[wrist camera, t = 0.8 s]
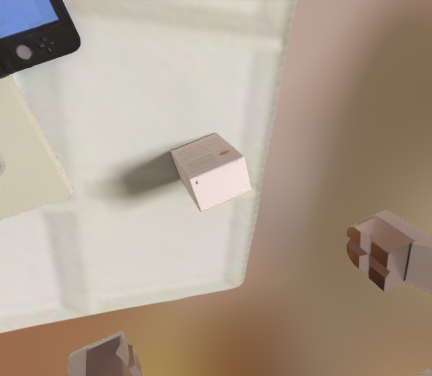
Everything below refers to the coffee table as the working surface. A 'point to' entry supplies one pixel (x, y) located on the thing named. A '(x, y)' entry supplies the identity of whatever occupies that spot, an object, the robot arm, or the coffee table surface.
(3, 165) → the steel ball
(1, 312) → the coffee table surface
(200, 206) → the small box
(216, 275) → the coffee table surface
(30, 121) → the beige flat block
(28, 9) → the handheld game console
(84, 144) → the coffee table surface
